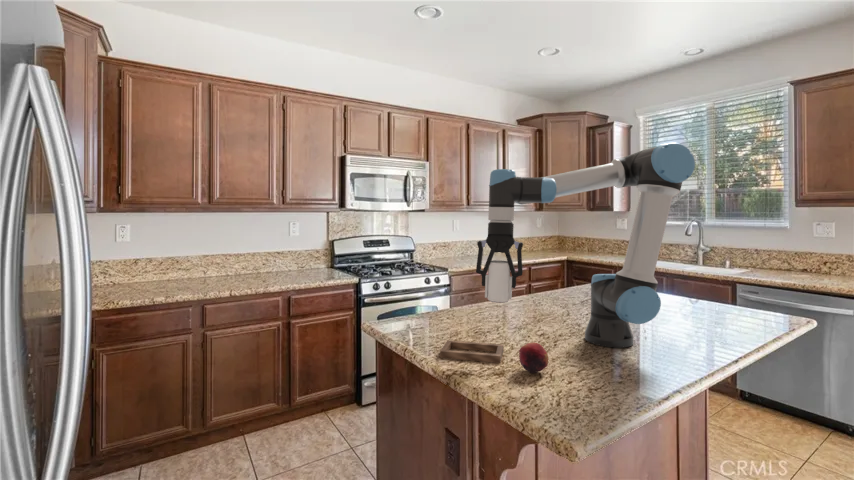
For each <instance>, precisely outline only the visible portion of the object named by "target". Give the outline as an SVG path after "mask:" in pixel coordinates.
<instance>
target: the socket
mask: <svg viewBox="0 0 854 480" xmlns="http://www.w3.org/2000/svg"><path fill="white" fill-rule="evenodd" d="M451 349H457V350H451ZM459 349H460V350H459ZM462 350H467V351H462ZM468 350H470V351H468ZM476 351H482V352H476ZM486 352H492V353H486ZM494 352H495V353H494ZM503 353H504V344H503V343H501V344H500V343H487V342H486V343H485V342H476V341H475V342H473V341H461V340H459V341H458V340H447V341H445V344H444V345H443V346H442V348H441V349H440V351H439V358H440V359H450V360H451V359H453V360H462V361H464V360H465V361H474V362H484V363H487V362H488V363H496V364H501V362H502V357H503Z"/></svg>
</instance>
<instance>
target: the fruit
mask: <svg viewBox="0 0 854 480" xmlns="http://www.w3.org/2000/svg"><path fill="white" fill-rule="evenodd" d="M518 351H519V352H518V353H519V354H518V357H519V363H520V365H521V366H522V368H523V369H524V370H525V371H527V372H529V373H530V374H536V373H539V372H541V371H543V370H544V369H546V368H547V366H548V364H549V354H548V353H547V351H546V349H545V348H544V346H542V345H541V344H540V343H538V342H533V341H532V342H528V343H526V344H524V345H522V346H521V347H520V348H519V350H518Z"/></svg>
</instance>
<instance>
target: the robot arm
mask: <svg viewBox="0 0 854 480" xmlns="http://www.w3.org/2000/svg"><path fill="white" fill-rule="evenodd" d="M695 167H696V160H695V157H694V154H693V153H692V152H691V150H690V148H688V147H687V146H685V145H684V144H681V143H678V142H668V143H660V144H659V145H657V146H654V147H649V148H646V149H645V148H644V149H642V150H640V151H637V152H635V153H632V154H628V155H626V156H623V157H620V158H615V159H612V160H611V162H610V163H606V164H601V165H596V166H590V167H586V168H580V169H575V170H571V171H566V172H563V173H562V172H561V173H557V174H552V175H547V176H541V177H531V176H530V177H529V176H528V177H527V176H523V177H521V176H517V174H516V171H515V170H514V169H505V168H501V169H499V168H498V169H493V170H492V171H491V172H490V176H489V177H490V178H489V185H488V186H489V187H488V188H489V189H488V190H489V191H488V192H489V193H488V195H489V196H488V214H487V215H488V221H490V222H488V224H487V237H486V238H485V240H478V241H477V246H478V249H477V251H478V252H477V260H476V269H475V272H476V274H479V275H481V286H482V287H484V299H485V298H486V299H488V274H487V273H488V271H489V265H490V262H491V261H493V258H494V255H495V253H496V254H497V253H501V254H505V257H506V261H508V265H509V268H510V275H511V276H510V278H509V300H512V297H513V295H512V294H513V293H512V292H513V289H515V288H516V287H517V277H521V276H523V258H522V257H523V256H522V249H523V246H524V242H522V241H520V242H519V241H517V240H515V238H514V228H515V227H514V223H513V222H512V221H514V220H515V203H516V204H519V205H526V204H535V203H536V204H538V203H539V204H549V203H553V202H554V200H555V199H556V198H560V197H565V196H570V195H571V196H572V195H576V194H580V193H585V192H590V191H591V192H592V191H596V190H600V189H606V188H610V187H615V188H617V189H621V188H627V187H636V188H637V189H638V191H639V192H640V193H639V194H640V195H639V198H638V203H637V207H636V211H635V215H634V221H633V224H632V229H631V232H630V237H629V242H628V245H627V249H626V254H625V257H624V262H623V265H622V269H621V270H619V271H617V272H615V273H597V274H596V273H595V274H593V275H592V277H591V283H590V318H589V320H588V323H587V325H586V328H585V331H584V339H585V341H587V342H588V343H591V344H593V345H596V346H601V347H605V348H606V347H607V348H616V349H617V348H628V347H631V346H633V345H634V334H633V332H632V328H631V325H630V324H634V325H641V324H642V325H643V324H646V323H649V322H650V321H652V320H653V319H655V318H656V316H657V315H658V314H659V312H660V311H661V306H662V301H661V297H660V296H659V294H658V292H657V289H658V285H659V284H658V283H659V282H658V280H657V278H656V277H655V271H656V267H657V263H658V260H659V255H660V252H661V247H662V243H663V238H664V234H665V230H666V227H667V223H668V218H669V213H670V210H671V205H672V201H673V198H674V197H676V196H678V194H680V192H681V189H682V186H683V182H684V181H687V180H688V179H689V178H691V176H692V175H693V173H694V171H695ZM486 244H487V245H488V247H489V249H490V251H489V253H488V256H487V259H486V262H485V265H484V267H483V269H482V266H483V265H482V263H483V256H484V248H485V247H486ZM513 245H514V247H515V249H516V257H517V258H516V260H517V271H516V268H515V265H514V262H513V258H512V256H511V252H510V249H511V248H512V247H513Z"/></svg>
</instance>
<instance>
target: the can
mask: <svg viewBox="0 0 854 480" xmlns="http://www.w3.org/2000/svg"><path fill="white" fill-rule="evenodd" d="M487 273H488V274H487V275H488V297H487V300H488V301H489V302H491V303H497V304H498V303H499V304H502V303H508V302H509V301H510V299H509V278H510V277H511V271H510V268H509V265H508V261H507V260H498V259H496V260H495V259H494V260H493V259H492V261H491V262H490V265H489V268H488V271H487Z"/></svg>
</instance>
